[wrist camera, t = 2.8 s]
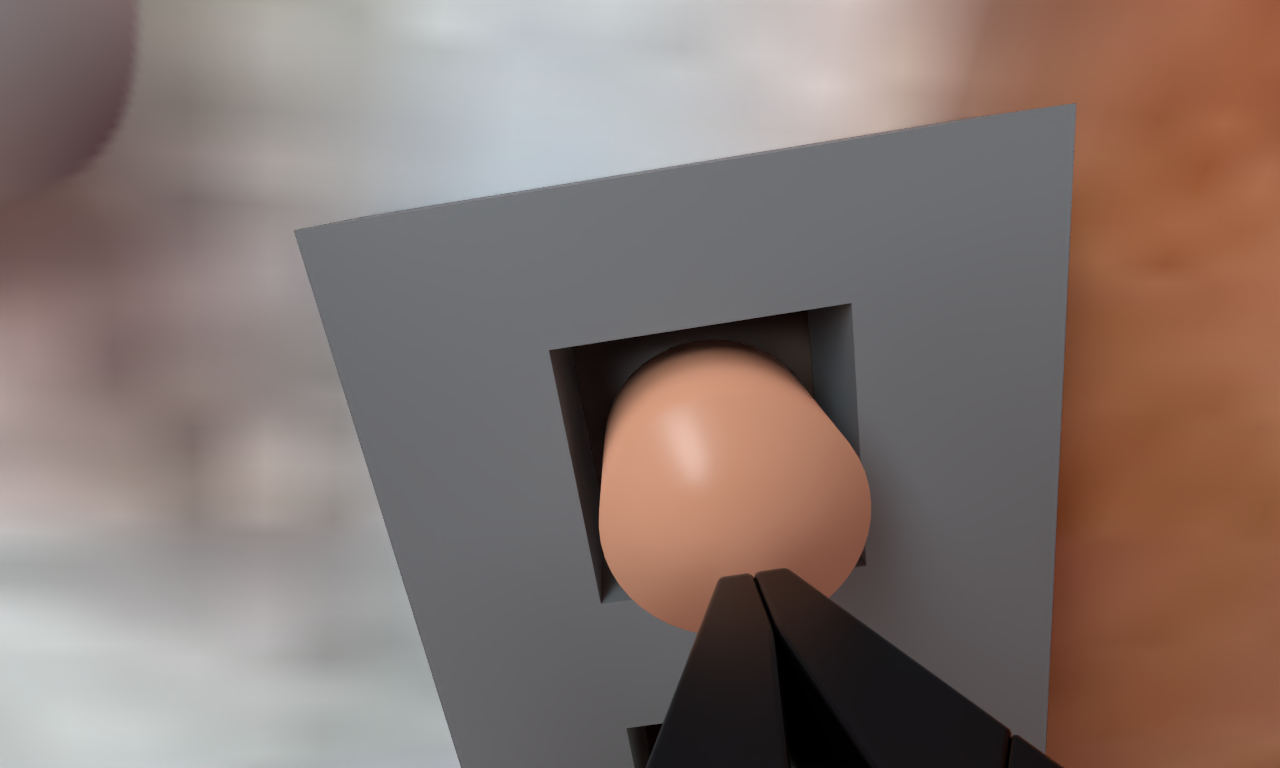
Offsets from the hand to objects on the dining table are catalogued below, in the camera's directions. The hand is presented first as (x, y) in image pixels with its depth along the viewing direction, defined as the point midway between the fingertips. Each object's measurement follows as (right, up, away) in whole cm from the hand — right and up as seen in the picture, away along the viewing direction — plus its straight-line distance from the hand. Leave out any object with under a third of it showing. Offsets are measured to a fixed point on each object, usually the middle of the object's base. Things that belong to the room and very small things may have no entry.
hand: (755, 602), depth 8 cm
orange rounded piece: (0, +2, +4) cm, 5 cm away
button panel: (+1, -5, +9) cm, 10 cm away
